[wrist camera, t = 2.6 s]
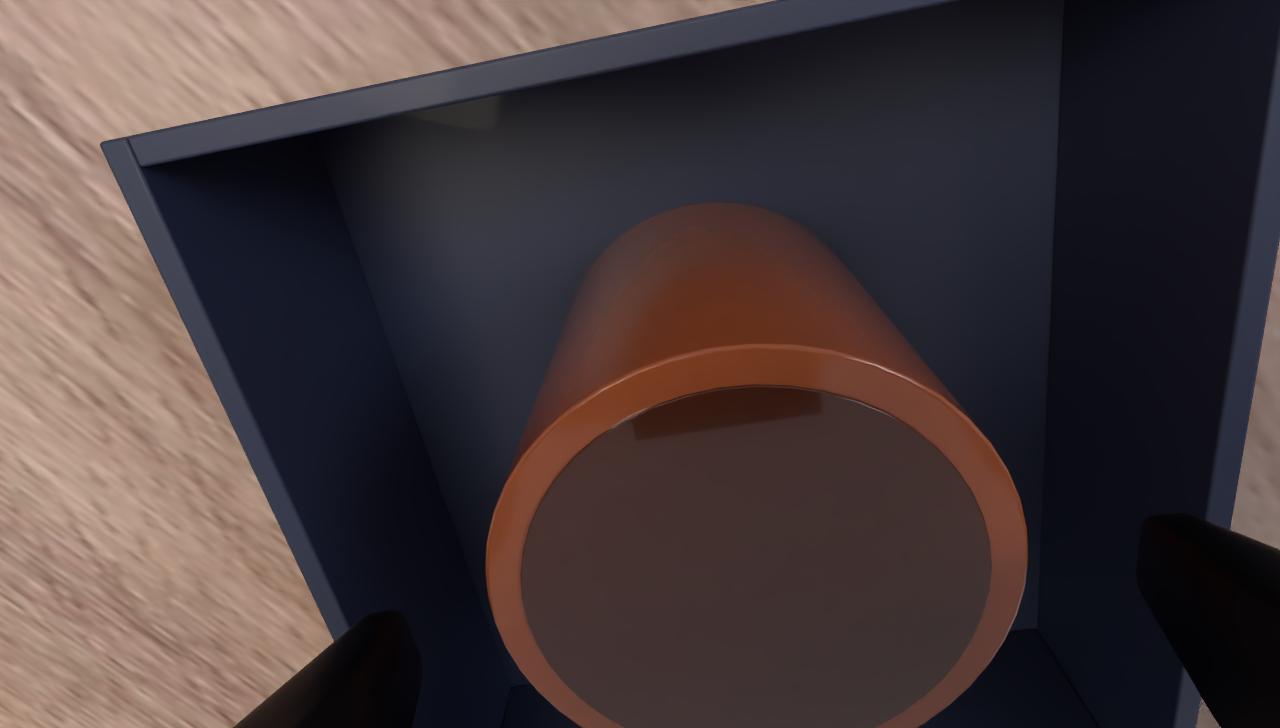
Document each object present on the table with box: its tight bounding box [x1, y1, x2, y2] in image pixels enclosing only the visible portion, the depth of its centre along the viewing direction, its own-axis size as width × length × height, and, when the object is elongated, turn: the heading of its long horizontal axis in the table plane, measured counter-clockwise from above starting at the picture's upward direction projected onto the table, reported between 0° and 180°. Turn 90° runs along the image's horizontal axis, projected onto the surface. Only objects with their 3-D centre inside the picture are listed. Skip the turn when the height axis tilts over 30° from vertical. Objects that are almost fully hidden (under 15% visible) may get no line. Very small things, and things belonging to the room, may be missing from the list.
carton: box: [100, 0, 1280, 728], centre depth 14 cm, size 16×15×5 cm
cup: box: [485, 202, 1028, 728], centre depth 12 cm, size 6×6×8 cm
